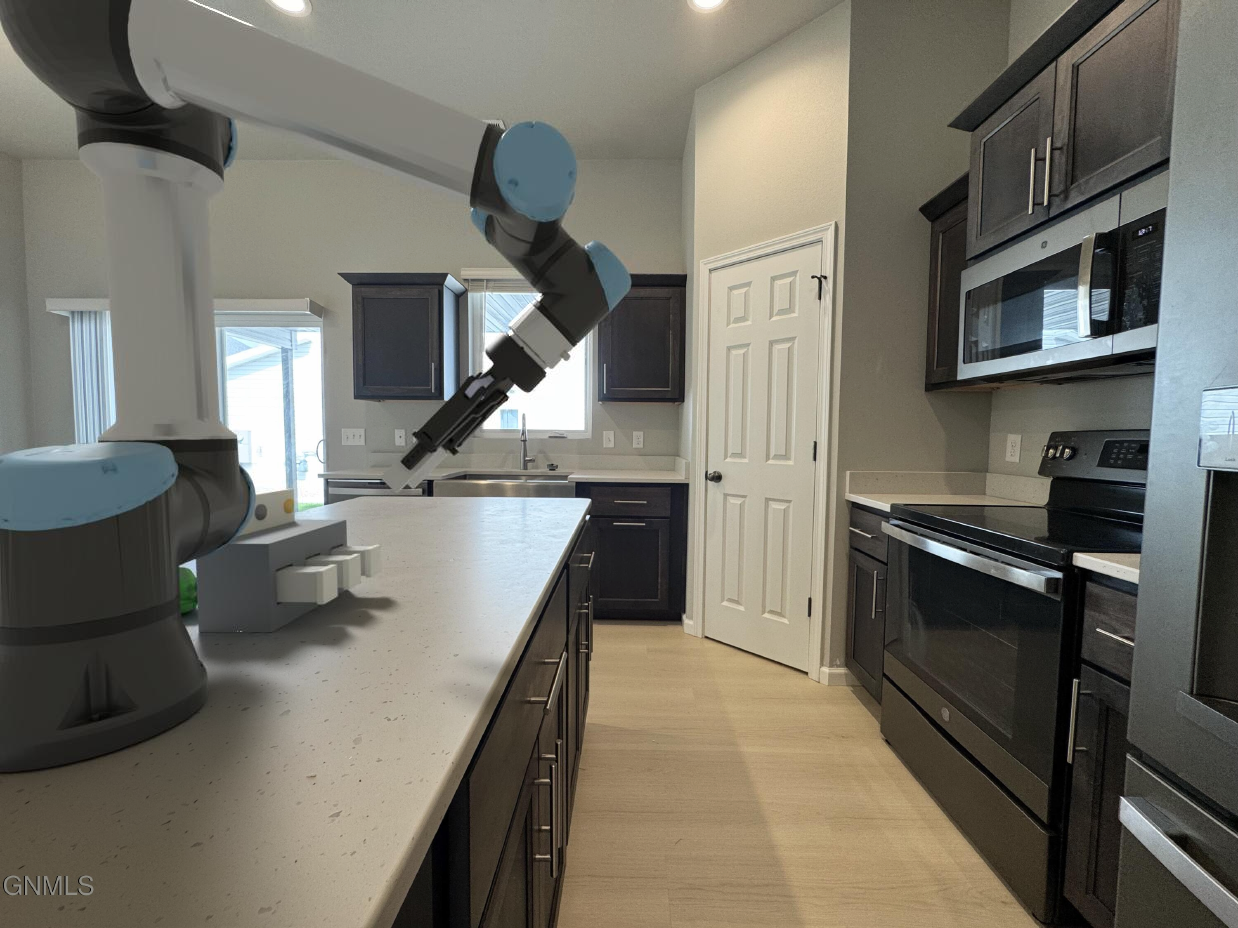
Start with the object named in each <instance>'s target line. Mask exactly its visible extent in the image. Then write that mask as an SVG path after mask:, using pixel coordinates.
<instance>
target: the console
mask: <svg viewBox="0 0 1238 928" xmlns="http://www.w3.org/2000/svg"><path fill="white" fill-rule="evenodd" d="M347 523H348V522H347V519H295V521H293V522H289V523H286V524H282V525H278V526H274V527H270V528H267V529H263V530H259V531H255V532H252V533H248V534H244V535H240V536H237V537H236V538H234V539H233V540H232V541H230V542H229V543H228V544H227V545H226V546H224V547H223V548H221V549H219V550H218V551H216V552H214V553H212V554H210V555H207V556H204V557H201V558H198V559H195V569H196V570H195V572H196V573H195V574H196V575H195V577H196V578H197V602H198V605H197V621H198V622H197V623H198V633H250V632H272V631H274V632H275V631H277V630H278V629H280V627H281V628H282V627H284V626H286V625H288V624H289V623H291V622H293V621H295V620H297V619H298V618H300V617H302V616H304V615H305V614H307V613H309V612H310V610H311V611H313V610H314V609H316V608H318V607H320V606H322V604H317V602H277V593H276V570H277V569H279V568H282V567H284V566H306V558H307V557H310V556H312V555H331V548H333V547H335V546H348V535H347V534H348V533H347V531H348V530H347V529H348V528H347ZM337 591H338V596H339V595H342V594H343V593H344V592H347V590H343V588H337ZM319 605H320V606H319ZM312 609H313V610H312ZM237 631H238V632H237ZM240 631H242V632H240ZM272 633H273V632H272Z"/></svg>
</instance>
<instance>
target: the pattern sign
mask: <svg viewBox="0 0 1238 928" xmlns="http://www.w3.org/2000/svg"><path fill="white" fill-rule="evenodd" d="M295 517H296V515H295V489H294V488H285V489H278V490H272V491H267V492H261V493H256V502H255V508H254V512H253V515H252V517H251V519H250V521H249V523H248V524H247V526H246V527H245V528H244V530H243V531H242V532H241V533H240V534H239V535H238V536H240V535H244V534H248V533H252V532H255V531H259V530H263V529H267V528H270V527H274V526H278V525H282V524H286V523H289V522H293V521H295V520H296V518H295Z"/></svg>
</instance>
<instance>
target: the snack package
mask: <svg viewBox="0 0 1238 928" xmlns="http://www.w3.org/2000/svg"><path fill="white" fill-rule="evenodd" d="M179 578H180V605H181V615H182V614H185V613H188V612H190V611H193V610H194V609H195V608H196V607H198V602H197V576H196V575H195V574H194V572H193V571H192V570H191V569H190V568H188V567H184V566H182V567H181V566H179Z"/></svg>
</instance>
